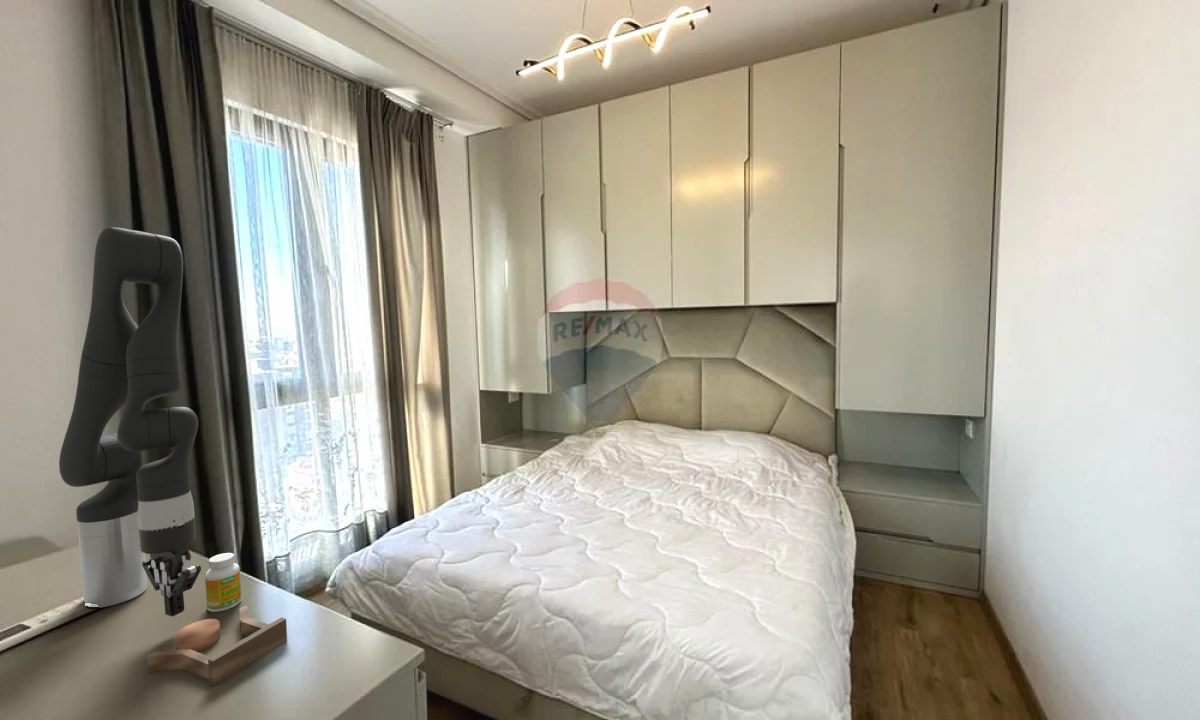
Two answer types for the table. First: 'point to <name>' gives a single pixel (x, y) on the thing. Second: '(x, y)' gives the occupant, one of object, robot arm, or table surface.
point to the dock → (225, 651)
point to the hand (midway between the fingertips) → (175, 613)
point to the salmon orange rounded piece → (198, 635)
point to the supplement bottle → (222, 583)
